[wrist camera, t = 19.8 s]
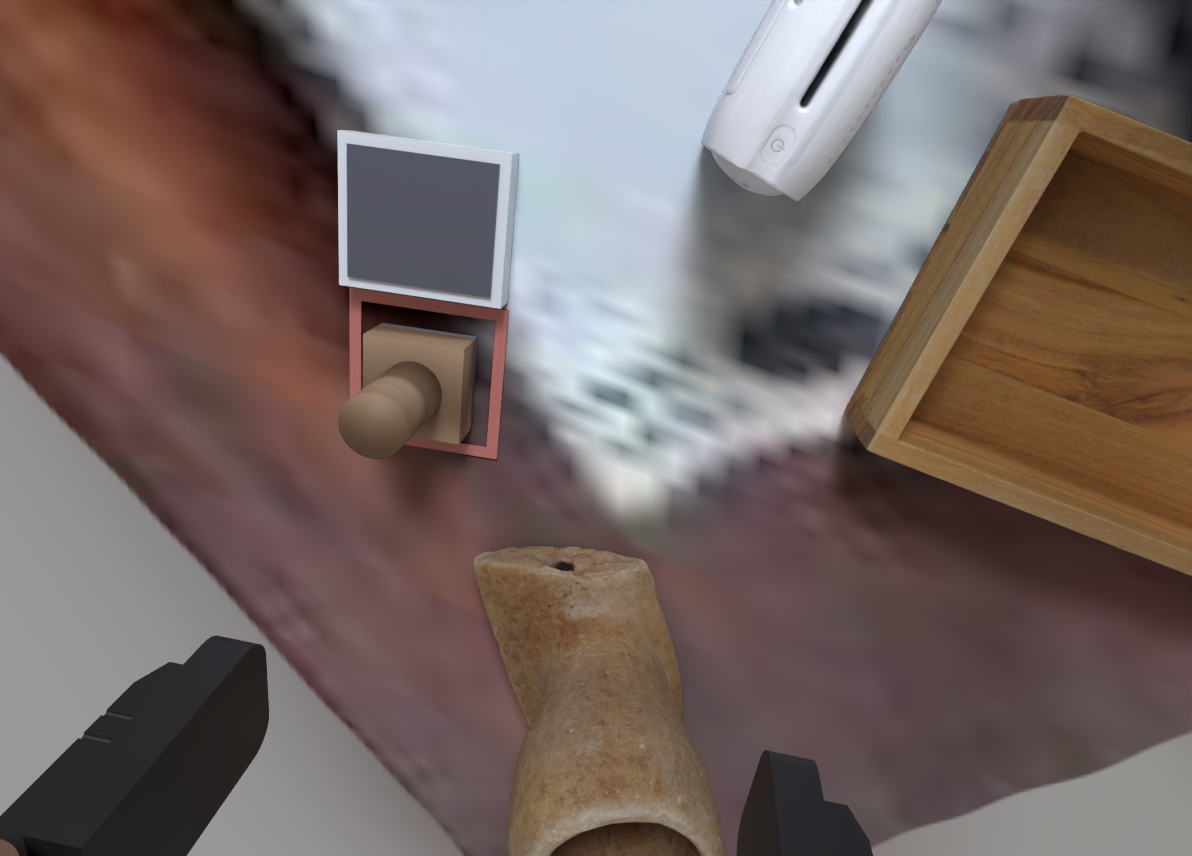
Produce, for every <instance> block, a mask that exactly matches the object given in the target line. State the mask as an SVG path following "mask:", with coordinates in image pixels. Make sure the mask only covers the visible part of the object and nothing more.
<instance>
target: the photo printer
mask: <svg viewBox="0 0 1192 856" xmlns="http://www.w3.org/2000/svg"><path fill="white" fill-rule="evenodd" d="M941 2H942V0H773V1H772V3H771V5H770V6H769V8H768V10H767V12H766V13H765V15H764V17H763V19H762V20H761V22H760V24H759V26H758V27H757V29H756V31H755V33H754V35H753V36H752V38H751V40H750V42H749V43H748V45H747V47H746V49H745V51H744V52H743V54H742V56H741V58H740V60H739V62H738V63H737V65H736V67H735V69H734V71H733V73H732V74H731V76H730V78H729V80H728V82H727V84H726V86H725V88H724V90H723V92H722V94H721V95H720V96H719V98H718V102H717V104H716V105H715V107H714V109H713V111H712V114H711V116H710V118H709V121H708V123H707V125H706V128H705V131H704V134H703V138H702V144H703V145H704V146H705V147H706V148H707V149H709V150H711V153H712V155H713V158H714V159H715V161H716V162H717V164H718V165H719V166H720V168H721V169H722V170H723V171H724V172H725V173H726V174H727V175H728V176H729V177H730V178H731V179H732V180H733V181H734V182H735V183H736V184H738V185H739V186H741V187H742V188H744V189H746V190H748V191H750V192H753V193H756V194H759V195H765V196H777V195H784V194H785V195H786V196H788V197H790V198H792V199H793V200H795V201H799V200H800V199H802V198H803V197H804V196H805V195H806V194H807V193H808V192H809V191H810V190H811V189H812V188H813V187H814V186H815V185H816V184H817V183H818V182H819V181H820V180H821V179H822V178H823V177H824V175H825V174H826V173H827V172H828V171H829V169H830V168H831V167H832V166H833V164H834V163H835V162H836V160H837V159H838V158H839V156H840V155H841V154H842V152H843V151H844V150H845V148H846V147H847V145H848V144H849V143H850V141H851V140H852V138H853V137H854V136H855V134H856V133H857V132H858V130H859V129H860V127H861V126H862V124H863V123H864V122H865V120H866V119H867V117H868V116H869V114H870V113H871V112H872V110H873V109H874V107H875V106H876V104H877V103H878V101H879V100H880V98H881V97H882V95H883V94H884V92H885V91H886V89H887V88H888V86H889V85H890V83H891V82H892V80H893V79H894V77H895V75H896V74H897V72H898V71H899V69H900V68H901V66H902V65H903V63H904V62H905V60H906V58H907V57H908V55H909V54H910V52H911V51H912V49H913V47H914V46H915V44H916V43H917V41H918V40H919V38H920V36H921V35H922V33H923V31H924V30H925V28H926V27H927V25H928V23H929V22H930V20H931V19H932V17H933V15H934V14H935V12H936V10H937V8H938V7H939V5H940V3H941Z"/></svg>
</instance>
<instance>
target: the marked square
mask: <svg viewBox="0 0 1192 856" xmlns="http://www.w3.org/2000/svg"><path fill="white" fill-rule="evenodd" d="M362 301H366V302H372V303H379V304H386V305H392V306H399V307H406V308H412V309H419V310H426V311H432V312H439V313H446V314H452V315H459V316H466V317H472V318H479V319H486V320H492V321H496V325H495V339H494V353H493V367H492V380H491V394H490V408H489V422H488V435H487V447H484V446H478V445H472V444H466V443H460V444H453V443H447V442H440V441H434V440H428V439H421V438H415V437H411V438H410V439H409V440H408V441H407V442H406V443H405V444H404V445H410V446H416V447H423V448H429V449H435V450H441V451H447V452H454V453H460V454H466V455H472V456H478V457H485V458H491V459H497V454H498V442H499V429H500V417H501V404H502V391H503V379H504V366H505V353H506V341H507V328H508V316H509V311H508V310H501V309H495V308H488V307H481V306H474V305H468V304H461V303H454V302H448V301H441V300H434V299H427V298H421V297H414V296H407V295H401V294H394V293H387V292H380V291H374V290H367V289H360V288H354V287H350V398H352V397H353V396H354V395H356V394H357V393H358V392H360V391H361V390H362Z"/></svg>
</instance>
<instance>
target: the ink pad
mask: <svg viewBox="0 0 1192 856" xmlns="http://www.w3.org/2000/svg"><path fill="white" fill-rule="evenodd" d="M518 162H519V153H513V152H505V151H498V150H491V149H483V148H476V147H469V146H461V145H454V144H447V143H439V142H432V141H425V140H417V139H410V138H403V137H395V136H388V135H381V134H373V133H366V132H359V131H350V130H338V216H339V285H344V286H351V287H357V288H364V289H371V290H377V291H384V292H391V293H398V294H404V295H411V296H418V297H424V298H431V299H438V300H445V301H451V302H458V303H465V304H471V305H478V306H485V307H492V308H498V309H501V308H502V307H503V306H504V305H505V304H506V303H508V290H509V278H510V265H511V252H512V239H513V226H514V214H515V201H516V188H517V175H518Z"/></svg>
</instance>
